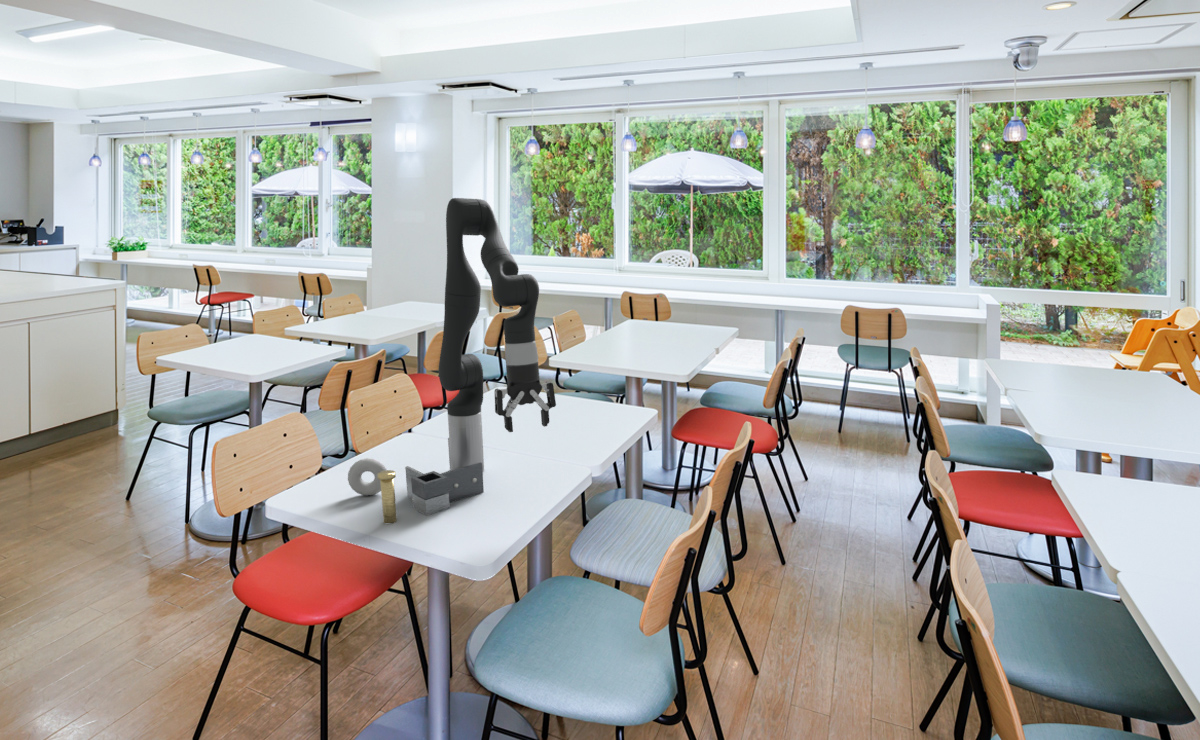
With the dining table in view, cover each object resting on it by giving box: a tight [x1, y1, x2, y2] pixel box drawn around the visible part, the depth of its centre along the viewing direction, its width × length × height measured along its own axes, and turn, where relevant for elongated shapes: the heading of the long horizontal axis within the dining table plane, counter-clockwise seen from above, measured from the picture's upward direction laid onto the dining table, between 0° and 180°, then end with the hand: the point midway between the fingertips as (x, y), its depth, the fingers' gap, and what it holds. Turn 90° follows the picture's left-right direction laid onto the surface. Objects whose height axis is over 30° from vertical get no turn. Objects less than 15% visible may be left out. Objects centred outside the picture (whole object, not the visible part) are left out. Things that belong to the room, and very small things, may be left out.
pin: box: [378, 469, 398, 524], centre depth 169 cm, size 4×4×12 cm
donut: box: [347, 457, 387, 496], centre depth 185 cm, size 10×3×10 cm, turn 100°
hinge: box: [404, 462, 485, 516], centre depth 183 cm, size 14×18×8 cm
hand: (527, 428), depth 170 cm, fingers open, 8 cm apart
